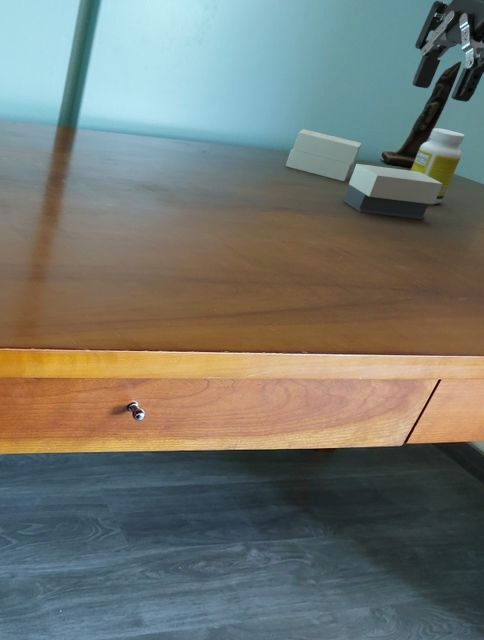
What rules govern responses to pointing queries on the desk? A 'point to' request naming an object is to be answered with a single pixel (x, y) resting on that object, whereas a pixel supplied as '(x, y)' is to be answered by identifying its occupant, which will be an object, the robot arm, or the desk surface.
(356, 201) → the dark gray block
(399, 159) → the statue
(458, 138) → the pill bottle
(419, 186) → the white block
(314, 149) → the white stack
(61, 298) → the desk surface
